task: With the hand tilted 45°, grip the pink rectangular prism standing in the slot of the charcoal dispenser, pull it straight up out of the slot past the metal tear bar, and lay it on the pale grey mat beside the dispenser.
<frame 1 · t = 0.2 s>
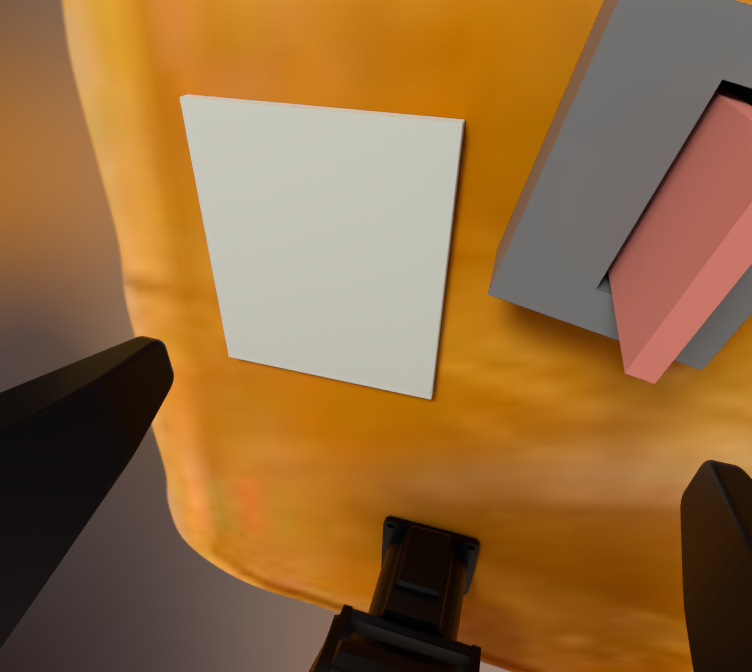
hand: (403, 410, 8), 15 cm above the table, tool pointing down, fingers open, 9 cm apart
dispenser: (653, 166, 19), on the table
pink rectangular prism: (653, 165, 19), resting in dispenser
mat: (324, 260, 25), on the table
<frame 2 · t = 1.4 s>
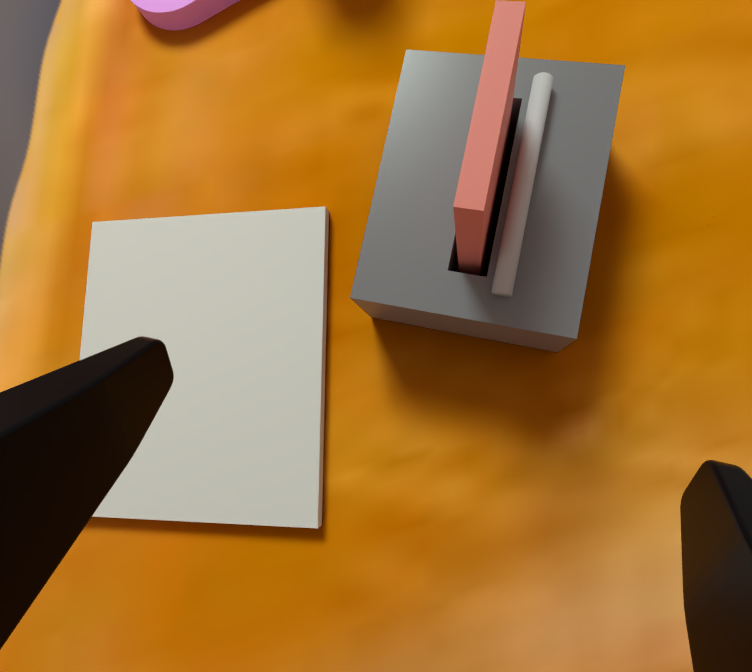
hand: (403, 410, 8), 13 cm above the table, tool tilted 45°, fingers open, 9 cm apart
dispenser: (483, 223, 22), on the table
pink rectangular prism: (483, 223, 22), resting in dispenser
mat: (201, 362, 24), on the table
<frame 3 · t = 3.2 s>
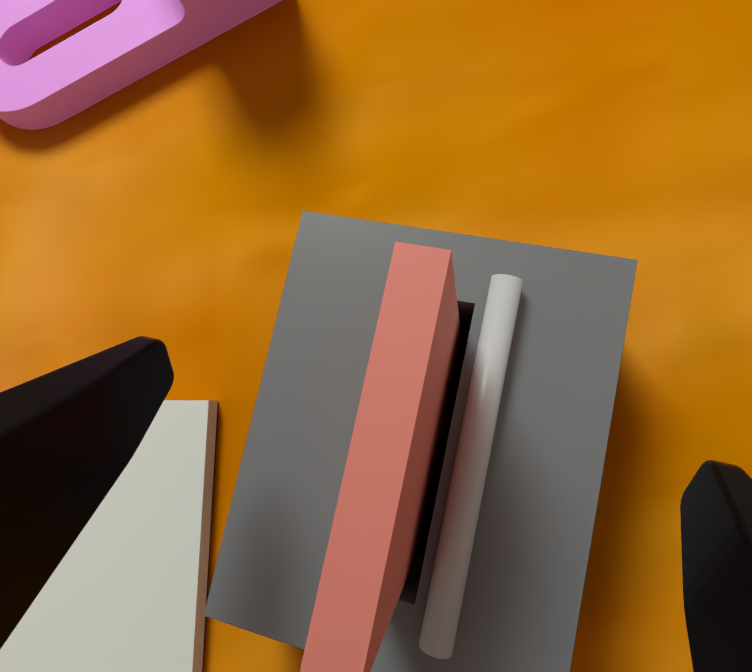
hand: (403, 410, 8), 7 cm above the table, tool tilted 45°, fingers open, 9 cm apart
bracket: (130, 27, 20), on the table
dispenser: (429, 435, 15), on the table
pink rectangular prism: (429, 435, 16), resting in dispenser
mat: (37, 612, 17), on the table
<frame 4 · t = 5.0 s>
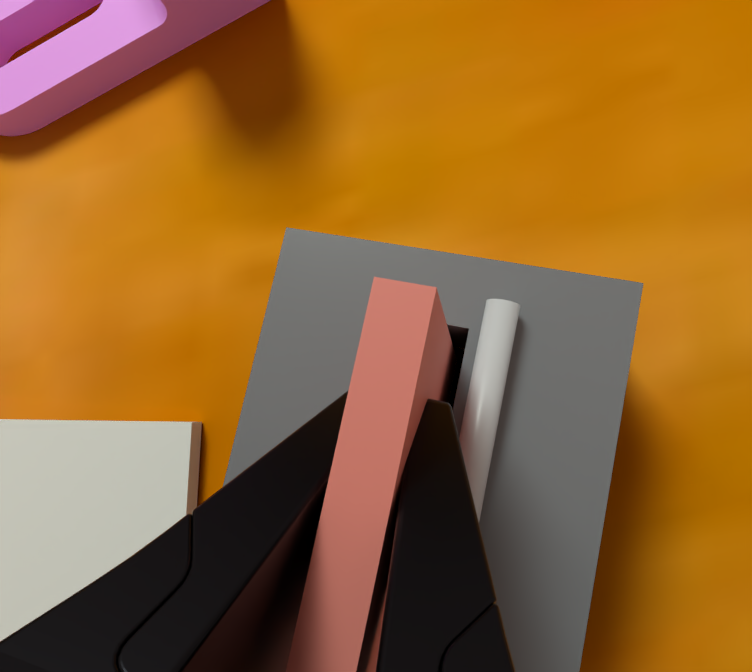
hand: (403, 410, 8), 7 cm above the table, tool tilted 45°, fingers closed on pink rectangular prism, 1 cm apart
bracket: (112, 28, 20), on the table
dispenser: (422, 460, 15), on the table
pink rectangular prism: (423, 459, 15), resting in dispenser, touching gripper
mat: (14, 642, 16), on the table
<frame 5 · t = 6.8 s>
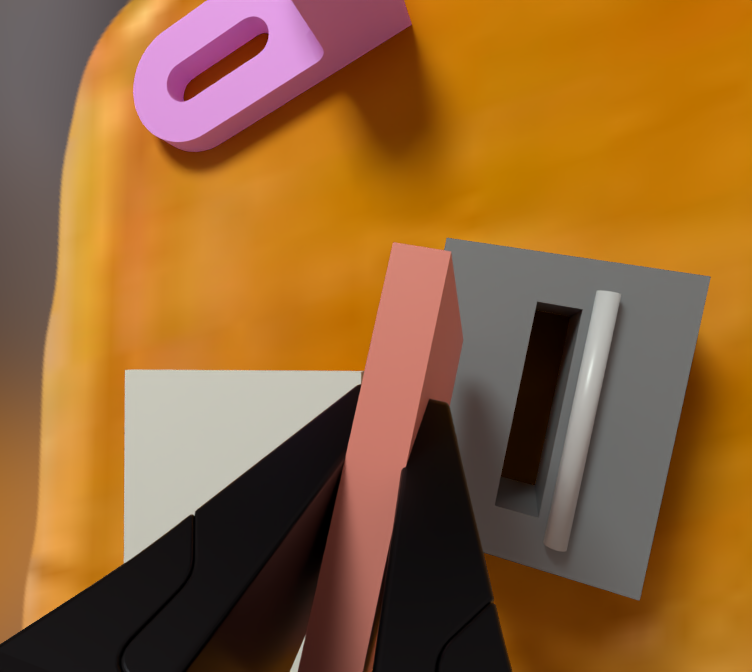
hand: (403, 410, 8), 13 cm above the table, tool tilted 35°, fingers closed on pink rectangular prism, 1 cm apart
bracket: (266, 56, 24), on the table
dispenser: (534, 397, 20), on the table
pink rectangular prism: (430, 434, 15), point 6 cm above the table, tilted 8°, touching gripper
mat: (241, 521, 24), on the table
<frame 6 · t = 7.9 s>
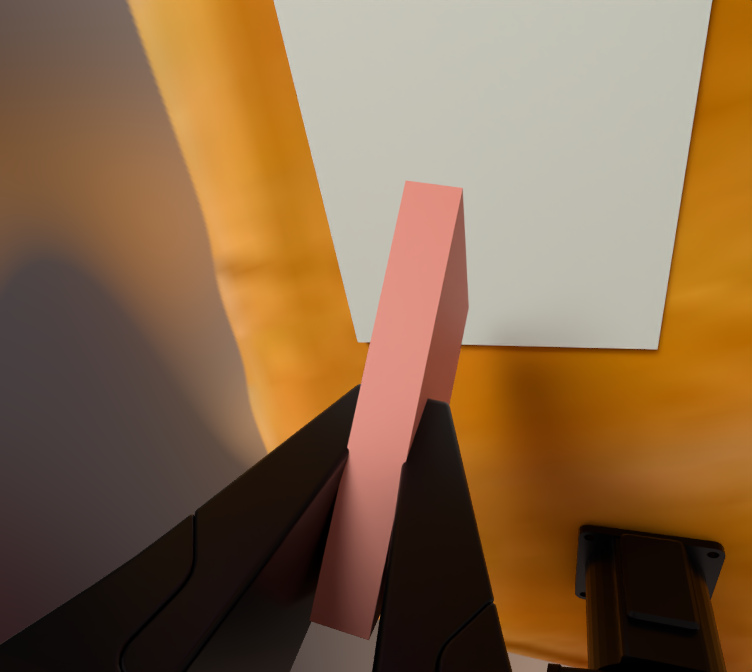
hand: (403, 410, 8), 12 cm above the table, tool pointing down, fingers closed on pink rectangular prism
pink rectangular prism: (436, 400, 16), point 7 cm above the table, tilted 44°, touching gripper
mat: (484, 171, 18), on the table
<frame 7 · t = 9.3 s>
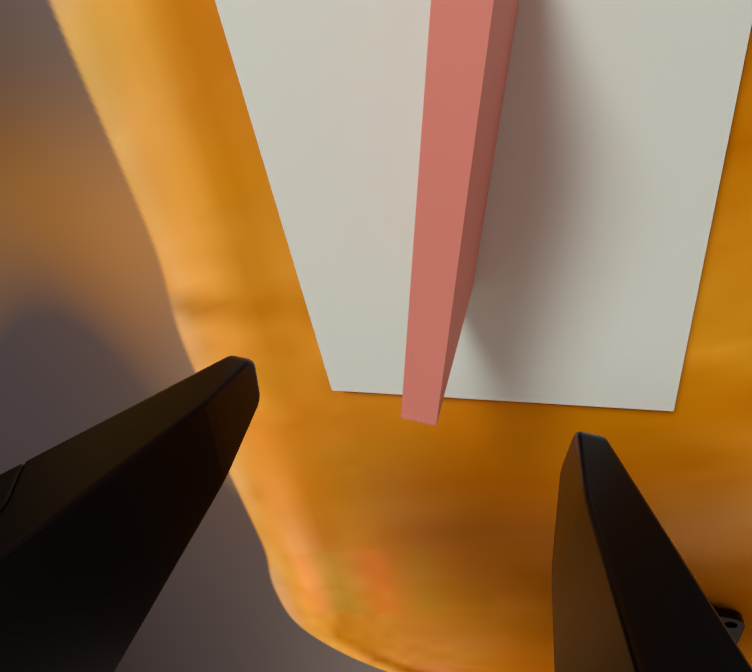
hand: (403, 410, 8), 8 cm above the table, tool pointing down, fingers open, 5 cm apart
pink rectangular prism: (442, 341, 14), point 4 cm above the table, tilted 90°, touching mat
mat: (472, 208, 15), on the table
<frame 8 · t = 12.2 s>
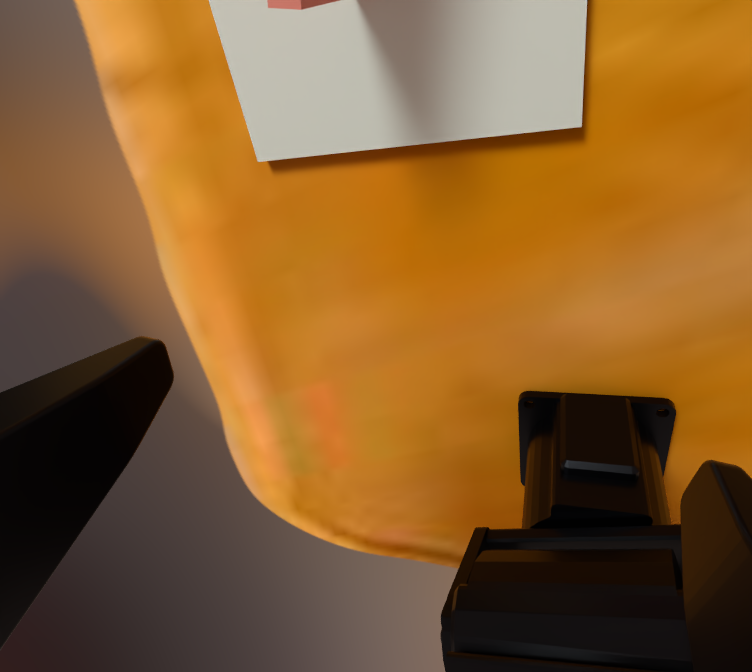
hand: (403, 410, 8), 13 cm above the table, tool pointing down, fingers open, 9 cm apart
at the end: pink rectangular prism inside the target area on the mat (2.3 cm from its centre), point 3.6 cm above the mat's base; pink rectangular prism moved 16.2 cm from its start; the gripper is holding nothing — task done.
